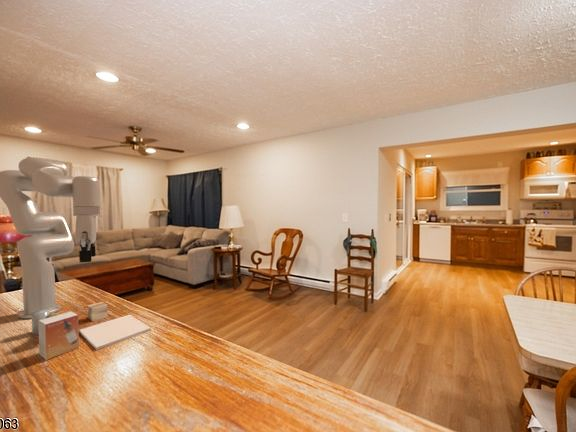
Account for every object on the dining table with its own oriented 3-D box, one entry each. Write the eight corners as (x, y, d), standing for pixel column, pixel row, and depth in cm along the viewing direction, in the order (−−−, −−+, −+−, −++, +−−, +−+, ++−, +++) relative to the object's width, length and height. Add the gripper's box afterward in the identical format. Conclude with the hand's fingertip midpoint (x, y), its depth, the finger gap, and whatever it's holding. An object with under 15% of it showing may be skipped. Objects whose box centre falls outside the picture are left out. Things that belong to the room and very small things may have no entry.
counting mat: (79, 332, 90) (79, 329, 90) (129, 316, 103) (129, 314, 103) (96, 350, 79) (96, 347, 79) (150, 330, 92) (150, 327, 92)
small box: (45, 361, 74) (44, 324, 73) (38, 355, 76) (37, 320, 76) (79, 347, 80) (78, 314, 80) (72, 342, 83) (71, 310, 83)
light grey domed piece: (31, 332, 90) (30, 312, 90) (48, 327, 94) (47, 308, 93) (33, 336, 87) (32, 315, 87) (51, 331, 91) (50, 311, 91)
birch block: (88, 318, 101) (87, 305, 101) (103, 313, 105) (102, 301, 105) (92, 321, 98) (91, 308, 98) (107, 317, 102) (107, 304, 102)
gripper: (78, 210, 98) (79, 255, 99) (67, 212, 83) (68, 265, 84) (102, 210, 102) (103, 254, 103) (96, 212, 87) (97, 263, 88)
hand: (87, 259), depth 93 cm, fingers open, 9 cm apart
